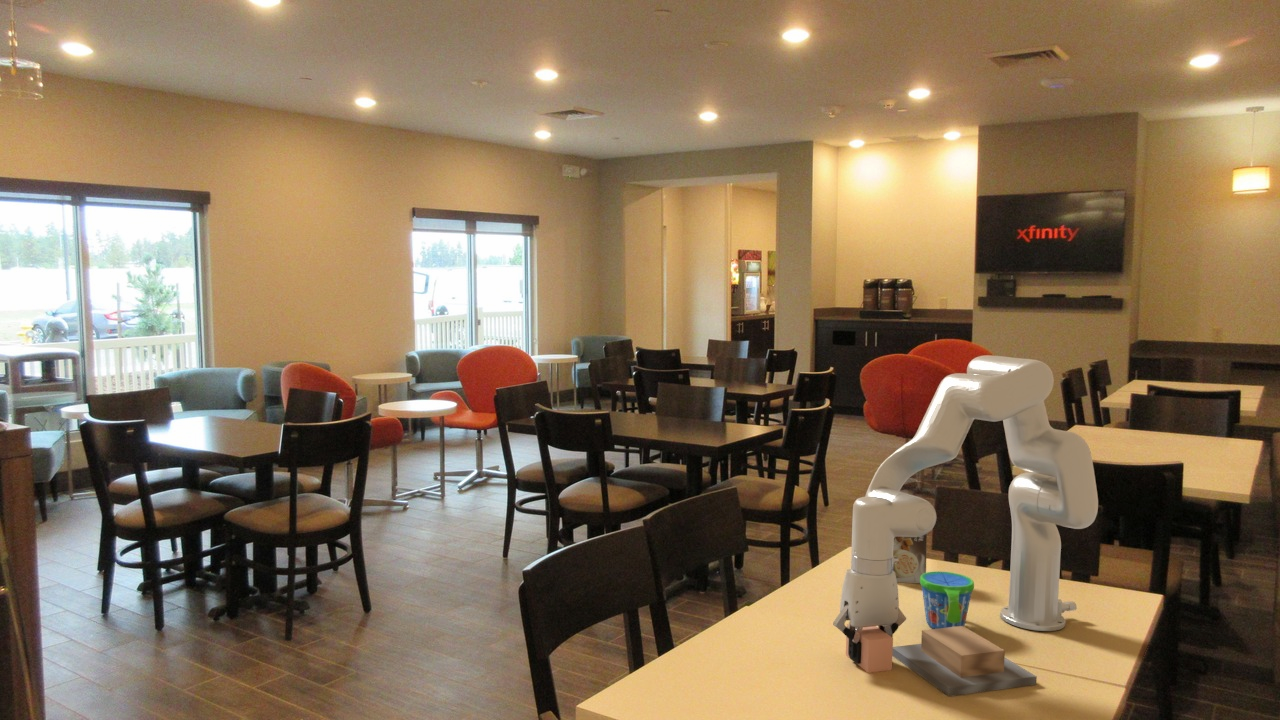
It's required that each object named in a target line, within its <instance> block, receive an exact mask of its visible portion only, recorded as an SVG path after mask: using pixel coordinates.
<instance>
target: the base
mask: <svg viewBox="0 0 1280 720" xmlns="http://www.w3.org/2000/svg"><path fill="white" fill-rule="evenodd" d="M920 642H921V643H916V644H908V645H907V644H906V645H897V646H893V654H892V657H893V658H895V659H896V660H898V661H899V662H901V663H902V664H904V665H905V666H906V667H908V668H909V669H910V670H912V671H913V672H914V673H916V674H917V675H919V676H920V677H921V678H923V679H925V680H926V681H927V682H928V683H930V684H931V685H932V686H934V687H935V688H937V690H939V691H941V692H942V693H943V694H945V695H947V697H954V696H961V695H969V694H975V693H983V692H985V693H986V692H991V691H998V690H1006V689H1013V688H1019V687H1029V686H1034V685H1035V686H1036V685H1037V675H1035V674H1033V673H1031V671H1028V670H1027V669H1025V668H1023V667H1021V666H1020V665H1018V664H1017V663H1015V662H1013V661H1011V660H1010V659H1008V658H1007V657H1005V654H1006V653H1005V652H1006V651H1005V649H1003V648H1001V647H999V646H998V645H997V644H995V643H993V642H991V641H990V640H988V639H986V638H984V636H981V635H979V634H978V633H976V632H974V631H973V630H970V629H969V628H967V627H966V626H957V627H948V628H938V629H935V628H931V629H923V630H921V641H920Z"/></svg>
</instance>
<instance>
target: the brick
mask: <svg viewBox="0 0 1280 720" xmlns="http://www.w3.org/2000/svg"><path fill="white" fill-rule="evenodd" d="M848 626H849V623H848V624H846V627H847V628H848ZM845 637H846V636H845ZM845 641H846V642H845V657H848V658H849V659H850V657H849V654H848V647H849V639H848V638H847V637H846V640H845ZM859 642H860V643H861V663H860V664H856V665H857V666H859V667H860V668H861V669H863V671H865V672H866V673H877V672H884V671H885V672H886V671H891V670H893V656H892V654H893V647H894V646H893V645H894V637H893V638H892V637H891V636H889V635H888V634H887V633H885V632H884V631H882V630H881V629H879V628H878V626H871V627H863V629H862V632H861V635H860V639H859ZM852 661H853V660H852ZM853 662H854V661H853Z"/></svg>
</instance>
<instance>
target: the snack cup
mask: <svg viewBox="0 0 1280 720" xmlns="http://www.w3.org/2000/svg"><path fill="white" fill-rule="evenodd" d="M919 584H920V586H921V589H922V597H923V599H922V600H923V606H924V614H925V615H924V616H925V620H926V624H927V625H928V626H929V627H930V628H931V629H938V628H948V627H957V626H964V627H966V622H967V616H968V613H969V612H968V611H969V608H970V607H969V606H970V602H971V597H972V596H971V595H972V592H973V591H974V589H975V582H974V580H973V579H972V578H971V577H968V576H966V575H963V574H960V573H957V572H950V571H929V572H928V571H926V573H924V574H922V575H921V577H920V583H919Z"/></svg>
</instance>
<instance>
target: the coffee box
mask: <svg viewBox="0 0 1280 720" xmlns="http://www.w3.org/2000/svg"><path fill="white" fill-rule="evenodd" d="M927 538H928V533H927V534H925V535H923V536H919V537H895V538H894V545H893V556H897V557H898V563H896V564H893V571H894V572H895V574H896V579H897V583H906V584H907V583H908V584H912V583H913V584H920V577H921V575H922V574H924V573H927V551H928V550H927V548H928V547H927V546H928V545H927V543H928V541H927V540H928V539H927Z"/></svg>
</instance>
